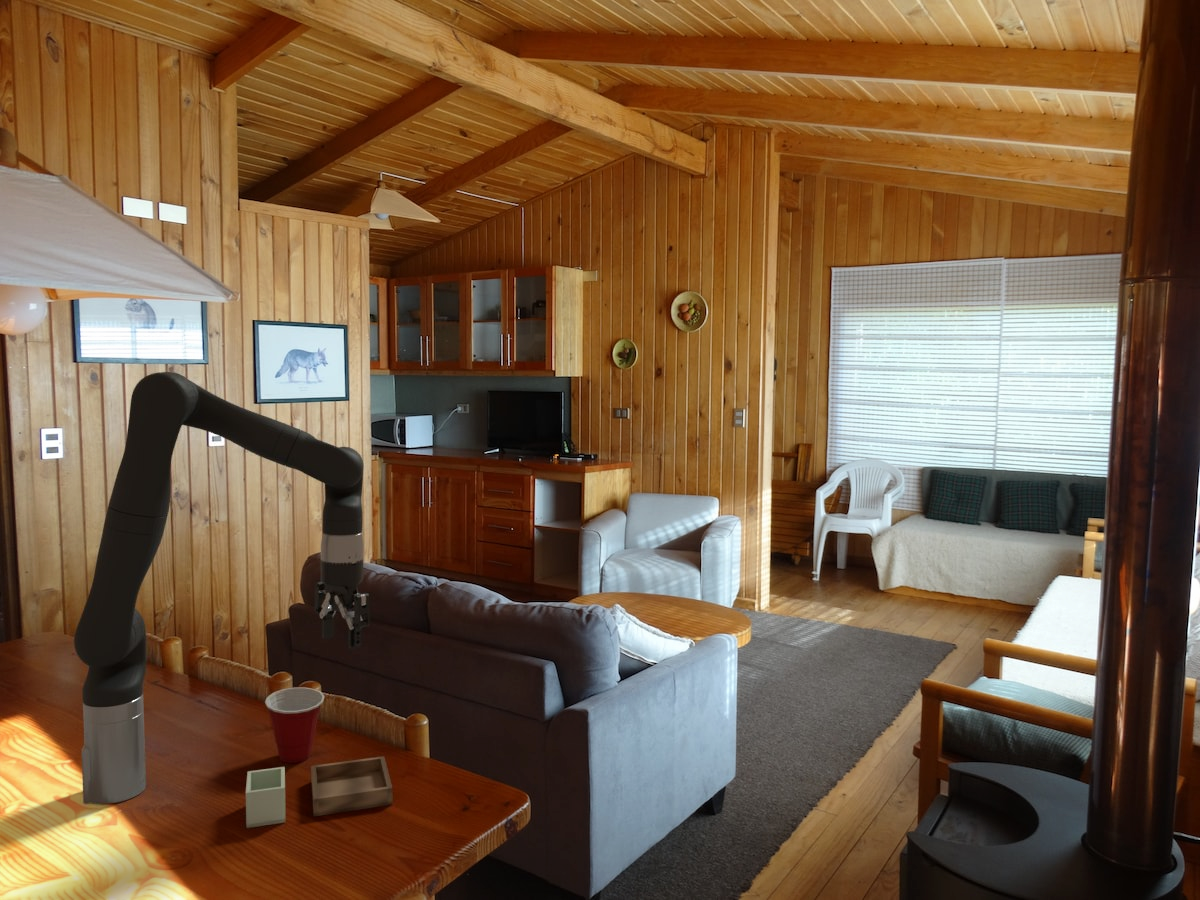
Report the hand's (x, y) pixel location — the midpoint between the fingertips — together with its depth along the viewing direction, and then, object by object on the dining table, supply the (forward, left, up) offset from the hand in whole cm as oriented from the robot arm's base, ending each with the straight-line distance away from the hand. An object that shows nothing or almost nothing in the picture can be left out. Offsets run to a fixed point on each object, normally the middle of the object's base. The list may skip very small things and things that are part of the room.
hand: (341, 643), depth 160 cm
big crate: (+1, -9, -25) cm, 26 cm away
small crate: (-13, -12, -25) cm, 30 cm away
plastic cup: (-8, +9, -25) cm, 28 cm away
